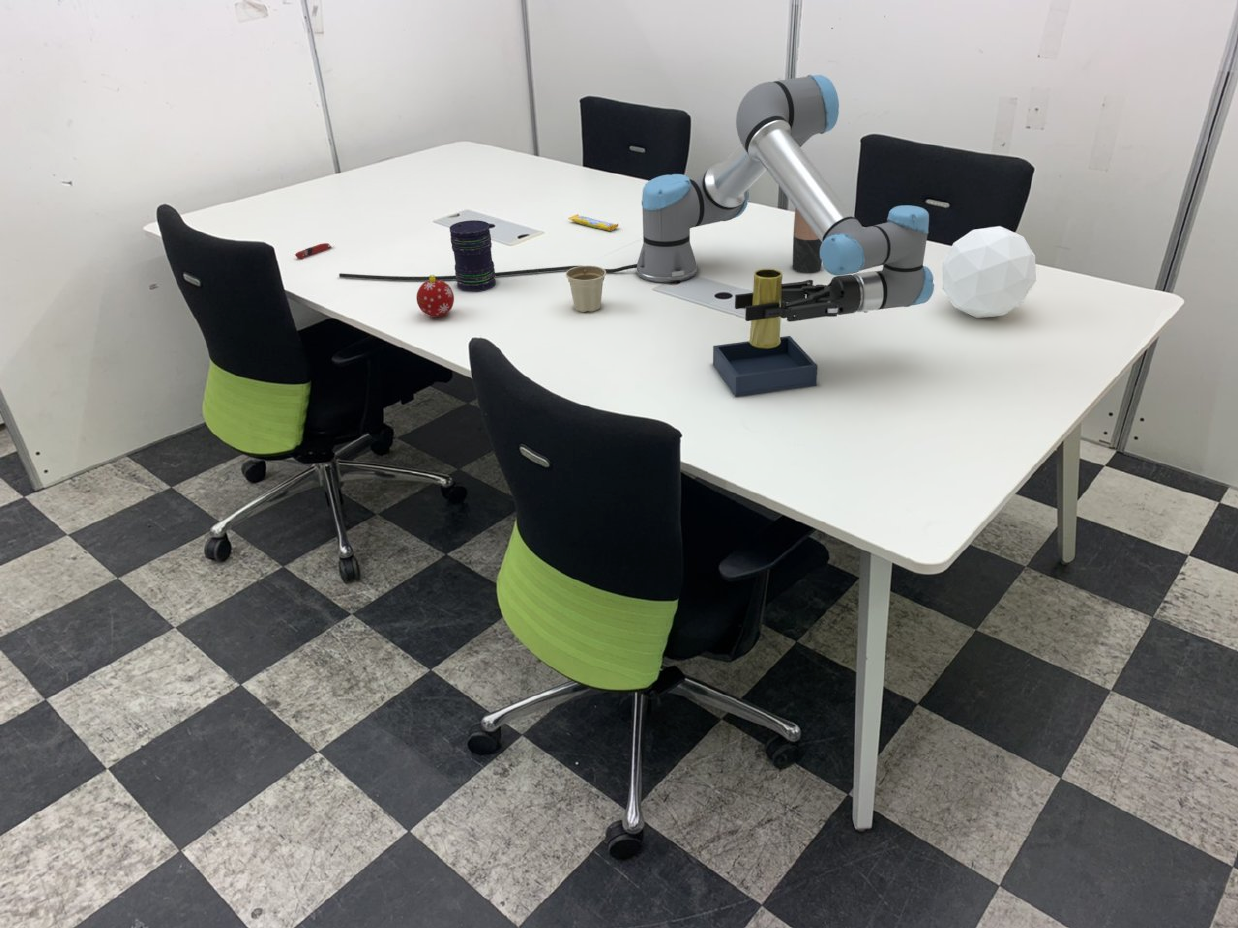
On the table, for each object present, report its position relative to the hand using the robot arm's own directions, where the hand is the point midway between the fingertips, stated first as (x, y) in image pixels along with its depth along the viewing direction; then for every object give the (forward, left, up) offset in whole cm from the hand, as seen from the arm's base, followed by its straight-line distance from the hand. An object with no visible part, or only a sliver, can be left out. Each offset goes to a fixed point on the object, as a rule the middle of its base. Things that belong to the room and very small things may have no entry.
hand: (741, 307), depth 178 cm
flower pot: (-44, +24, -15) cm, 52 cm away
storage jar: (-77, +29, -15) cm, 83 cm away
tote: (+4, +3, -15) cm, 16 cm away
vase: (+4, +3, -8) cm, 10 cm away
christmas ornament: (-76, +9, -15) cm, 78 cm away
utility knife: (-133, +36, -15) cm, 138 cm away
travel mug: (-1, +64, -15) cm, 66 cm away
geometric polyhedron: (+42, +48, -15) cm, 66 cm away
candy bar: (-67, +80, -15) cm, 105 cm away
